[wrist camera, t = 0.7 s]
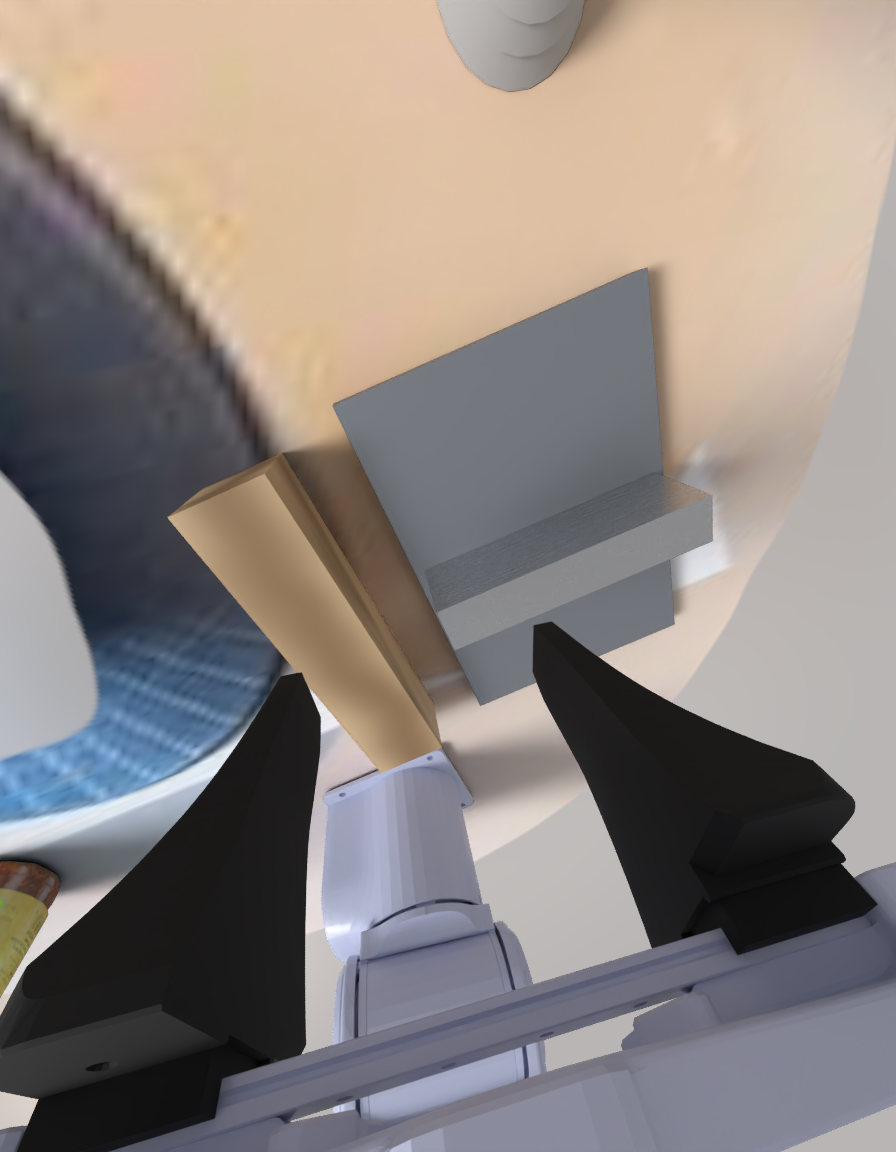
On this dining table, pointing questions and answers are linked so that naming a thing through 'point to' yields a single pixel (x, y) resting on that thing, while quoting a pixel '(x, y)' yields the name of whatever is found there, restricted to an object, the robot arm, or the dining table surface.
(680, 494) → the steel ridge
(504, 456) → the slate base plate
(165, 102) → the dining table surface
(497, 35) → the chalice
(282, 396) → the dining table surface
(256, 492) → the oak bar
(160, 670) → the dining table surface
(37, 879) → the sauce bottle
